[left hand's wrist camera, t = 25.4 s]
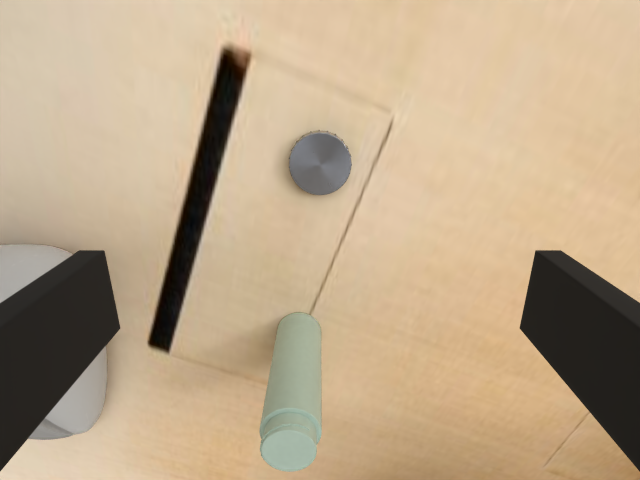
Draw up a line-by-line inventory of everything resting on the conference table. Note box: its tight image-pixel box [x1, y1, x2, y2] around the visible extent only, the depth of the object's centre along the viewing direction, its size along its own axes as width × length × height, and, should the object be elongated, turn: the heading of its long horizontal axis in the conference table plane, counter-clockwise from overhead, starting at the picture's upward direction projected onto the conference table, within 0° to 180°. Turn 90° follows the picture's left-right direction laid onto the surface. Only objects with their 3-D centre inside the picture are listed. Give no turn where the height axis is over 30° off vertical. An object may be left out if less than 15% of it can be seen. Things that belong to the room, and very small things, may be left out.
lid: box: [289, 130, 352, 195], centre depth 36 cm, size 6×6×2 cm
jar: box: [260, 313, 322, 472], centre depth 36 cm, size 5×5×15 cm
